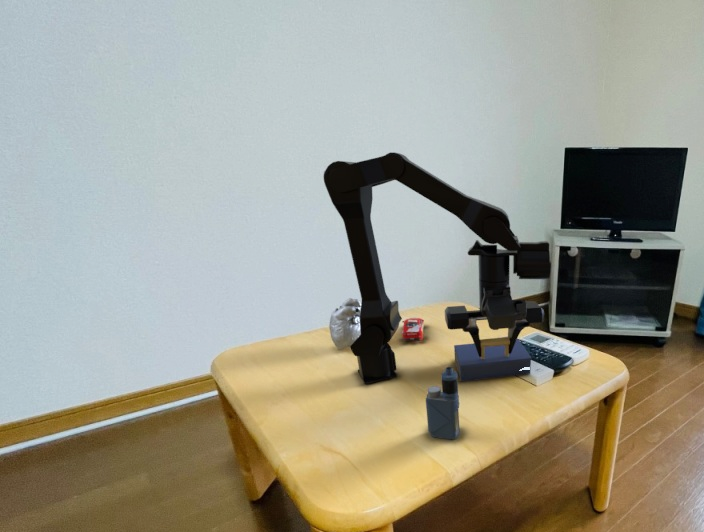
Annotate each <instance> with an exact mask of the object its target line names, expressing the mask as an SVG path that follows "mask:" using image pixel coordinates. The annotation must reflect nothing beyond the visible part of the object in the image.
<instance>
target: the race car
mask: <svg viewBox="0 0 704 532" xmlns="http://www.w3.org/2000/svg"><path fill="white" fill-rule="evenodd" d="M401 321H402V320H401ZM402 323H403V327H402V331H401V335H402V341H404V342H414V341H423V340H424V336H425V335H424V334H425V319H422V318H420V317H410V318H406V319H405V320H403V321H402Z"/></svg>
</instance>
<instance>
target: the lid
mask: <svg viewBox="0 0 704 532" xmlns="http://www.w3.org/2000/svg"><path fill="white" fill-rule="evenodd" d="M480 345H481V357H479V355H478V352H477V350H476V347H475V344H474V343H464V344H454V345H453V349H454V348H455V351H456V355H457V358H458V361H459V364H460V367H461V368H466V367H475V366H485V365H494V364H504V363H513V362H522V361H531V362H532V361H533V358H532V356H531V355H530V353H529V352H528V350H527V349H526V348H525V346H524V345H523V344H522V342H521V341H520V340H519V339H518V338H517V340H516V342H515V345H514V347H513V350H512V352H511V354H509V345H510V338H509V337H508V336H504V337H493V338H482V339H481V338H480Z"/></svg>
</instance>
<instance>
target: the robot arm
mask: <svg viewBox="0 0 704 532" xmlns="http://www.w3.org/2000/svg"><path fill="white" fill-rule="evenodd" d="M393 181H397V182H398V183H400V184H402V185H403V186H404V187H405V186H406V187H407V188H409V189H410V190H412V191H414V192H416V193H417V194H419V195H421V196H422V197H424V198H425V199H427V200H429V201H430V202H432V203H434V204H435V205H437V206H438V207H440V208H442V209H444V210H446V211H447V212H449V213H451V214H452V215H454V216H456V218H458V219H459V220H460V221H461V222H462V223H463V224H464V225H465V226H466V227H467V228H468V229H469V230H470V231H472V232H473V233H474V234H475V235H476V236H478V237H479V238H480V239H481V240H482V241H483V242H485V243H486V244H483V243H481V242H480V241H479V240H478V239H476V240H475V242H474V244H473V245H471V247H470V248H468V250H467V255H468V256H478V299H479V300H478V301H479V302H478V303H479V304H478V307H479V309H478V310H477V309H476V310H467V308H466V306H465V305H454V306H447V307H446V308H445V309H444V321H445V324H446V328H447V329H448V330H452V331H453V330H462V332H464V333H468V334H469V335H470V337H471V339H472V341H473V344H475V347H476V350H477V352H478V355H479V357H481V345H480V339H481V338H480V328H479V326H478V324H477V322H478V321H487V323H488V327H489V329H491V330H493V331H498V330H502V329H507V337H509V338H510V345H509V354H511V352H512V350H513V347H514V345H515V342H516V340H517V339H518V338H519V335H520V333H521V332H522V330H524V329H526V328H528V327H529V328H530V325H531V324H538V323H543V322H544V321H545V311H544V309H543V307H541V306H540V305H539V304H538V303H537V302H536V301H535V300H528V301H526V300H525V298H524V299H513V297H512V293H511V292H512V291H511V286H510V264H511V263H510V256H511V257H512V274H513V275H515V274H516V277H518V280H550V277H551V268H552V262H551V254H550V243H549V241H548V240H547V241H546V240H541V241H537V242H533V241H531V242H529V241H528V242H527V241H524V242H523V241H519V238H518V236H517V235H515V233H514V232H513V230H512V229H511V223H510V218H509V215H508V213H507V212H506V211H505V210H504V209H503V208H501V207H499V206H496V205H494V204H491V203H489V202H486V201H484V200H480V199H478V198H474V197H472V196H469V195H467V194H465V193H464V192H462V191H460V190H459V189H457V188H455V187H454V186H453V185H451V184H449V183H447V182H446V181H444V180H442V179H441V178H440V177H438V176H436V175H434V173H433V174H432V173H431V172H430V171H428V170H426V169H425V168H423V167H421V166H419V165H418V164H416V163H415V162H413V161H412V160H410V159H409V158H408V157H407V156H406V155H404V154H402V153H399V152H388V153H386V154H385V155H381V156H378V157H373V158H370V159H366V160H361V161H357V162H356V161H343V160H336V161H333V162H331V163H330V164H329V165H327V167H326V168H325V170H324V171H323V182H324V186H325V188H326V191H327V194H328V196H329V198H330V200H331V203H332V206H334V208H335V210H336V211H337V213H338V214H339V216H340V217H341V220H342V221H343V224H344V229H345V233H346V237H347V241H348V246H349V250H350V254H351V259H352V263H353V267H354V272H355V276H356V282H357V285H358V289H359V293H360V294H359V295H360V297H361V302H360V303H361V307H360V308H361V311H360V332H361V334H360V336H359V337H358V338H357V339H356V340H355V341H354V342H353V344H352V345H351V346H349V349H350V350H351V352H352V354H353V356H354V357H356V359H357V360H356V361H357V364H358V369H357V373H358V375H359V377H360V379H361V380H362V382H363V384H364V385H369V384H373V383H376V382H381V381H385V380H389V379H394V378H397V377H398V374H397V373H396V371H397V361H396V355H395V352H394V350H393V349H392V346H391V345H390V343H389V342H390V341H391V340H392V338H393V336H394V335H395V333H396V332H397V330H398V329H399V327H400V323H401V321H402V320H403V317H402V315H401V314H400V310H399V301H398V300H394V301H391V299H390V298H389V296H388V295H387V292H386V289H385V288H386V287H385V283H384V278H383V272H382V269H381V263H380V259H379V253H378V249H377V244H376V243H377V242H376V238H375V234H374V229H373V224H372V218H371V217H372V215H371V214H372V206H373V188H374V187H377V186H380V185H384V184H386V183H390V182H393ZM497 244H498V245H499V246H500V247H502V248H504V249H502V248H498V245H497Z"/></svg>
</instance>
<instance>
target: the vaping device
mask: <svg viewBox="0 0 704 532" xmlns="http://www.w3.org/2000/svg"><path fill="white" fill-rule="evenodd" d="M440 377H441V387H440V386H437V385H432V386H429V387H428V388H427V394H426V398H425V409H426V420H427V429H428V433H429V435H430V436H431V437H432V438H439V439H446V440H456V439H458V437H459V436H460V432H461V431H460V415H459V414H460V412H459V408H460V395H459V383H458V381H459V379H458V371H455V370H453V367H452V366H446V367H445V369H444V371H442V372H441V375H440Z"/></svg>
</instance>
